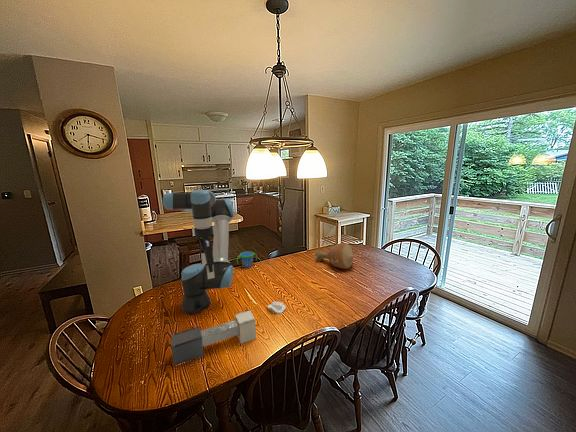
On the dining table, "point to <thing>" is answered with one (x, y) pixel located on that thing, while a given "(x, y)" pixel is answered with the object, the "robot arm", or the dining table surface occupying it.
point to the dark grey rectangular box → (187, 345)
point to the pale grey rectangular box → (220, 332)
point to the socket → (246, 326)
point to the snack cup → (246, 258)
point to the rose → (277, 307)
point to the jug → (338, 255)
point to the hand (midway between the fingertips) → (208, 271)
